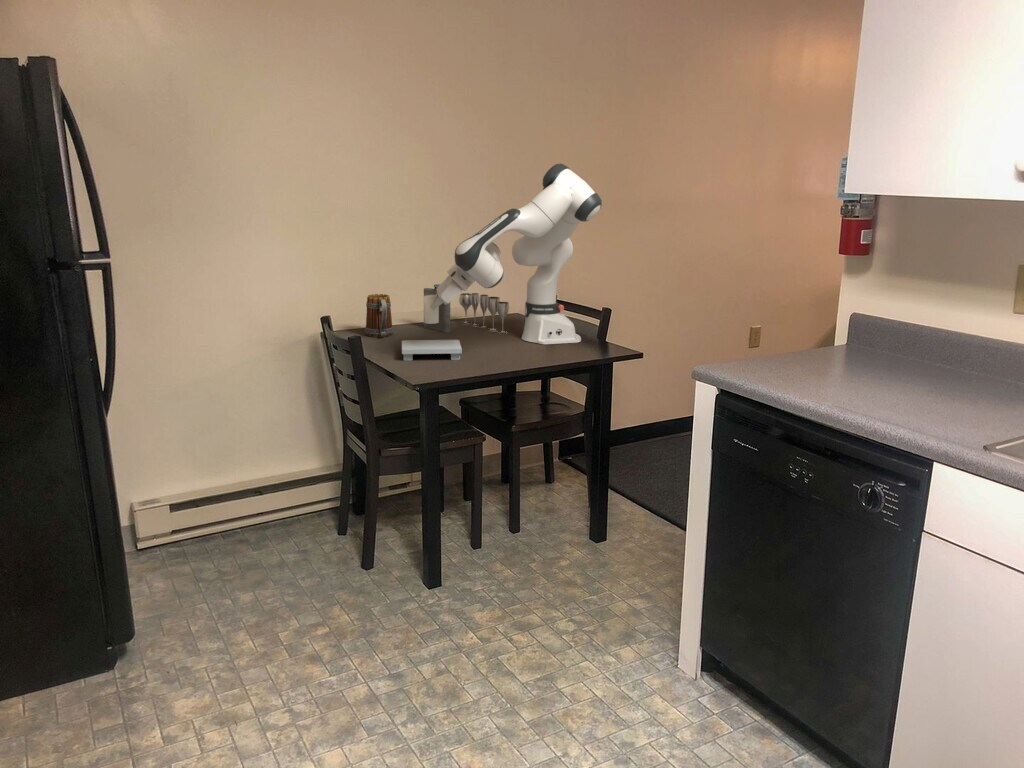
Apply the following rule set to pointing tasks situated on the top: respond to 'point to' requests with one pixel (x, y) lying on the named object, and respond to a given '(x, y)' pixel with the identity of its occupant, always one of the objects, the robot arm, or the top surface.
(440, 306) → the flask
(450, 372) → the top surface
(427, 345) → the shelf
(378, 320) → the mug
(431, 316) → the white rounded cylinder
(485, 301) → the goblet set
